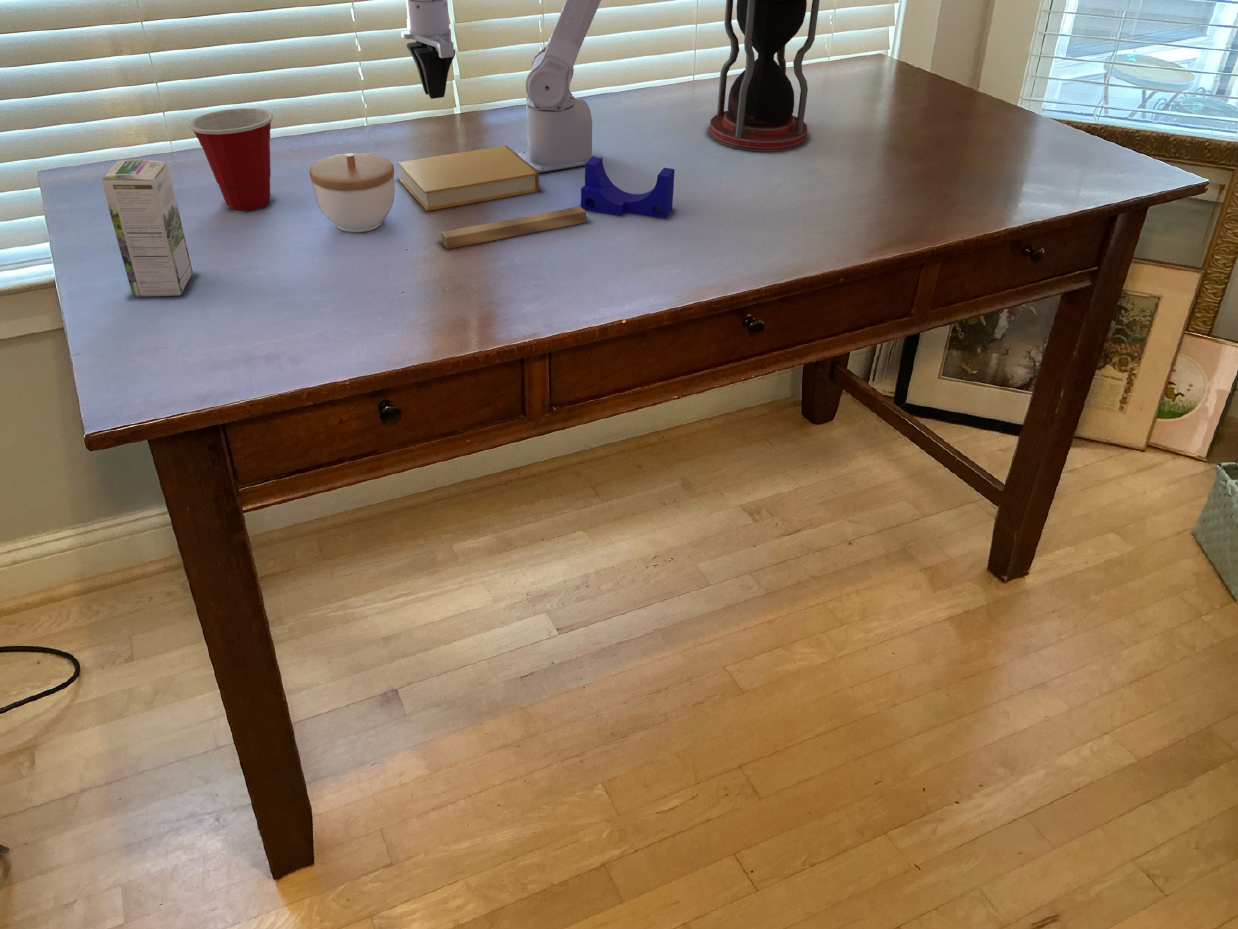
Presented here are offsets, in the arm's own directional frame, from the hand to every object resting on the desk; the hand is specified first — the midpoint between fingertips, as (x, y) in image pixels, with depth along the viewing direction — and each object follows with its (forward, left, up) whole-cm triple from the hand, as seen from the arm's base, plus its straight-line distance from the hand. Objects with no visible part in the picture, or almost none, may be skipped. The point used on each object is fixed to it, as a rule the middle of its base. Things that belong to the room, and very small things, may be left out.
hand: (434, 95), depth 152 cm
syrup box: (+44, +27, -10) cm, 52 cm away
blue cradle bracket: (-17, +30, -10) cm, 35 cm away
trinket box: (+18, +19, -10) cm, 28 cm away
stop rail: (0, +30, -9) cm, 31 cm away
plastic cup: (+30, +6, -10) cm, 32 cm away
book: (0, +13, -9) cm, 16 cm away
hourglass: (-51, +12, -10) cm, 53 cm away
